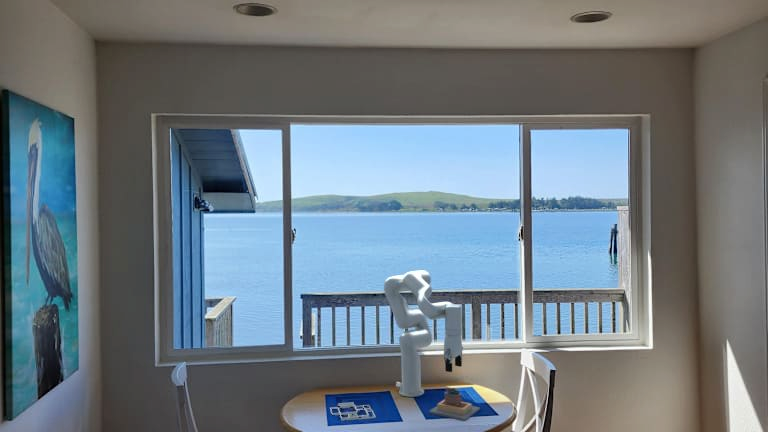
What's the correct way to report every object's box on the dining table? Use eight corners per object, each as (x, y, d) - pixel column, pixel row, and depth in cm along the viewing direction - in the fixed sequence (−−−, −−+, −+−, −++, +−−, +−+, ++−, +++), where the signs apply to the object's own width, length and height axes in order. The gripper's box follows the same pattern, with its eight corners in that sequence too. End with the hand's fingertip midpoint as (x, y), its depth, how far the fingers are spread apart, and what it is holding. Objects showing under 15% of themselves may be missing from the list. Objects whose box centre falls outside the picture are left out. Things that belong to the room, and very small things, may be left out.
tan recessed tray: (428, 413, 268) (428, 405, 268) (445, 402, 281) (444, 395, 281) (464, 420, 258) (464, 412, 258) (479, 409, 271) (479, 402, 271)
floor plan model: (316, 409, 277) (316, 405, 277) (368, 404, 282) (368, 400, 282) (319, 424, 258) (319, 419, 258) (375, 419, 263) (375, 414, 263)
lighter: (462, 409, 269) (462, 388, 268) (460, 412, 266) (459, 390, 265) (446, 407, 272) (445, 385, 272) (443, 409, 269) (443, 387, 269)
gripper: (454, 327, 278) (454, 362, 278) (437, 334, 263) (437, 372, 264) (468, 328, 274) (469, 365, 274) (452, 336, 259) (452, 375, 260)
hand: (453, 368), depth 269 cm, fingers open, 9 cm apart
